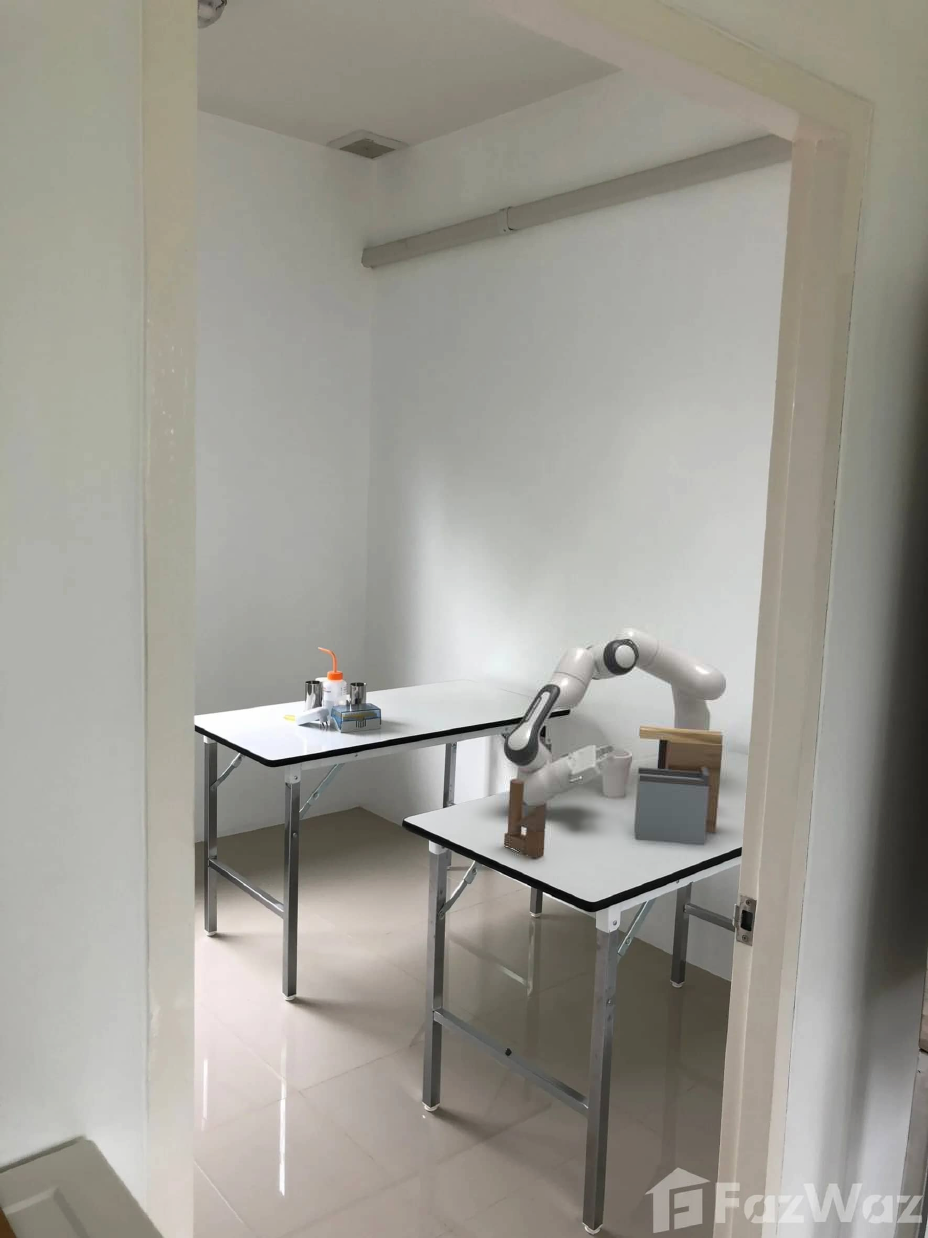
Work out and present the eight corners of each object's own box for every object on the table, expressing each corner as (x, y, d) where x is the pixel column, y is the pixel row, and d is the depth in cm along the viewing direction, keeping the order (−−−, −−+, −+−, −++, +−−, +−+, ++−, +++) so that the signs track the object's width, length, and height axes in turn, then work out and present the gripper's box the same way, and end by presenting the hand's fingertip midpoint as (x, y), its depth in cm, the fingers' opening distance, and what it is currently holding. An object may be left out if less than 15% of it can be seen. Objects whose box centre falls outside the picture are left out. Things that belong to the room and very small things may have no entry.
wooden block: (534, 859, 240) (538, 791, 237) (503, 846, 248) (506, 780, 245) (544, 856, 243) (547, 788, 240) (512, 843, 250) (516, 777, 247)
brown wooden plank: (661, 821, 270) (668, 735, 266) (712, 825, 268) (719, 739, 264) (663, 829, 264) (669, 741, 260) (715, 833, 262) (722, 745, 258)
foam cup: (604, 800, 286) (606, 758, 284) (593, 789, 295) (596, 748, 293) (634, 799, 288) (636, 757, 286) (623, 788, 297) (625, 748, 295)
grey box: (634, 828, 264) (638, 761, 261) (700, 833, 262) (706, 766, 259) (635, 839, 256) (640, 770, 253) (704, 844, 254) (709, 776, 251)
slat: (639, 734, 266) (639, 726, 265) (720, 740, 263) (721, 731, 263) (639, 738, 262) (640, 729, 262) (722, 744, 260) (722, 735, 259)
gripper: (562, 774, 258) (608, 753, 255) (564, 752, 278) (607, 732, 275) (573, 795, 258) (619, 773, 256) (574, 771, 279) (617, 751, 276)
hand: (613, 752), depth 266 cm, fingers open, 8 cm apart
